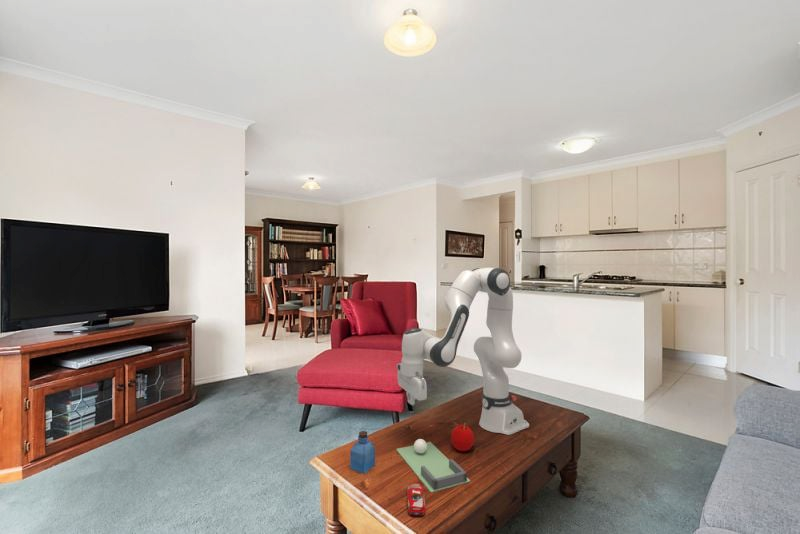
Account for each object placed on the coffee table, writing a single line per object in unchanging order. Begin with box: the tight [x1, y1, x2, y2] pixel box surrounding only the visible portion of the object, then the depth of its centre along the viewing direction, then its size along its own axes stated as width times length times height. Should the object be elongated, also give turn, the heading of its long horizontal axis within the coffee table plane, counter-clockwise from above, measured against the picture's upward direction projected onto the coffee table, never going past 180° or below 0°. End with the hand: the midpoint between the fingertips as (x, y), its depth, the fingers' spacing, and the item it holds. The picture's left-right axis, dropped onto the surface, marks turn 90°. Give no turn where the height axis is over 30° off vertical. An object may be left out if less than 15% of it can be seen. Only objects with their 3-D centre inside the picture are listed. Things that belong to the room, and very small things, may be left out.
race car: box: [406, 482, 426, 517], centre depth 106 cm, size 13×5×4 cm, turn 179°
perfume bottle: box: [349, 430, 376, 475], centre depth 124 cm, size 6×6×12 cm
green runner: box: [395, 441, 471, 494], centre depth 126 cm, size 15×28×1 cm, turn 24°
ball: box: [413, 438, 427, 454], centre depth 134 cm, size 5×5×5 cm
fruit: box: [450, 423, 475, 452], centre depth 138 cm, size 9×9×10 cm
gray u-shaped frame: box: [421, 458, 468, 490], centre depth 118 cm, size 12×9×3 cm
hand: (411, 403), depth 141 cm, fingers closed
